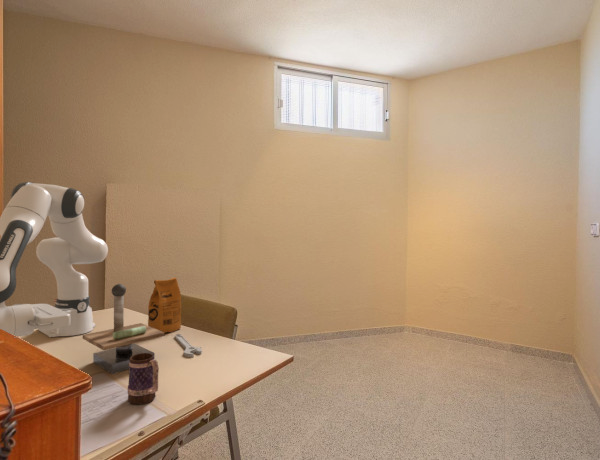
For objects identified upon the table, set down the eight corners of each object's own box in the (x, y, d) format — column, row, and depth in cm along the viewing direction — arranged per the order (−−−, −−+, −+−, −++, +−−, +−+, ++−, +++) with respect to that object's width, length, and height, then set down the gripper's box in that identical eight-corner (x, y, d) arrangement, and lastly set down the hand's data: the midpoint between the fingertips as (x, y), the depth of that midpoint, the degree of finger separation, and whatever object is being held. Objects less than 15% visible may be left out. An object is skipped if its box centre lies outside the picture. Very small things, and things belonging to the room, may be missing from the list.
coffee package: (144, 331, 166) (144, 279, 165) (170, 324, 176) (170, 275, 175) (157, 336, 160) (158, 282, 159) (184, 329, 170) (184, 278, 169)
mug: (122, 399, 106) (122, 355, 105) (147, 390, 111) (147, 348, 111) (142, 412, 100) (142, 365, 99) (167, 402, 105) (167, 357, 105)
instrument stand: (93, 362, 131) (93, 340, 131) (134, 351, 142) (134, 330, 142) (112, 374, 122) (112, 350, 122) (154, 361, 133) (154, 339, 132)
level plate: (82, 338, 129) (82, 286, 129) (140, 326, 144) (141, 279, 144) (103, 350, 119) (103, 293, 118) (164, 335, 134) (164, 285, 133)
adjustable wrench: (173, 338, 159) (173, 334, 159) (189, 336, 162) (190, 332, 162) (185, 359, 137) (185, 353, 137) (204, 356, 140) (204, 351, 140)
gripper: (34, 315, 106) (89, 307, 116) (12, 303, 119) (63, 296, 130) (35, 338, 106) (89, 328, 117) (12, 324, 119) (63, 315, 130)
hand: (75, 311), depth 123 cm, fingers closed
